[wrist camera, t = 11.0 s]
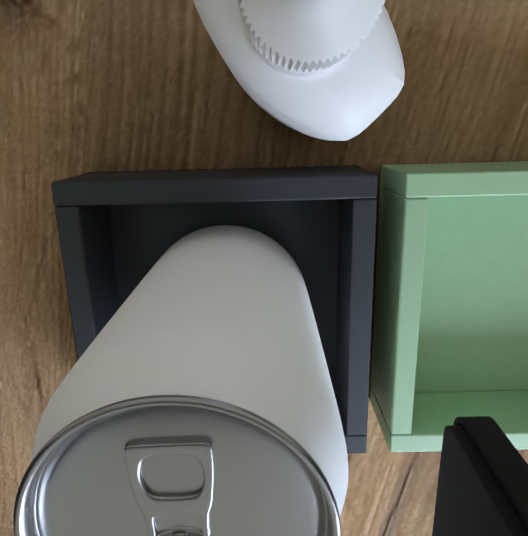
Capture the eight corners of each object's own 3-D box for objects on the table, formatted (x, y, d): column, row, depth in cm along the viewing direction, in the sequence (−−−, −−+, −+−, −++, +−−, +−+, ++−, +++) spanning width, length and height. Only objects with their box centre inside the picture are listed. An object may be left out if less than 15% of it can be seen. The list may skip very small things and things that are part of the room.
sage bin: (380, 164, 19) (406, 173, 15) (651, 158, 19) (739, 164, 15) (369, 401, 22) (389, 453, 18) (602, 396, 22) (667, 447, 18)
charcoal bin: (89, 172, 19) (49, 182, 15) (357, 165, 19) (378, 174, 15) (119, 406, 22) (91, 459, 18) (350, 401, 22) (366, 453, 18)
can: (159, 372, 21) (27, 683, 9) (140, 226, 19) (-57, 383, 7) (308, 365, 20) (366, 671, 9) (304, 217, 19) (368, 363, 7)
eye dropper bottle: (323, -36, 17) (454, -401, 5) (359, 124, 18) (522, 118, 7) (205, 3, 17) (80, -257, 6) (250, 156, 19) (226, 205, 7)
